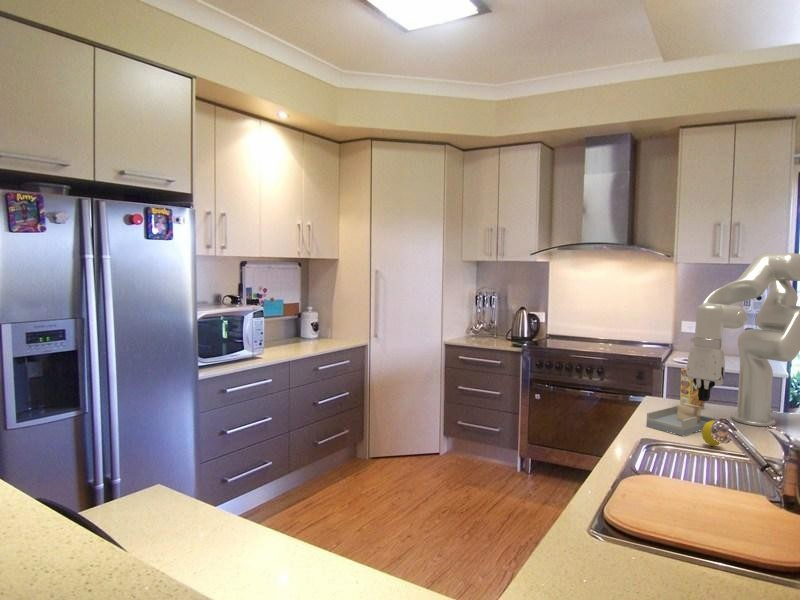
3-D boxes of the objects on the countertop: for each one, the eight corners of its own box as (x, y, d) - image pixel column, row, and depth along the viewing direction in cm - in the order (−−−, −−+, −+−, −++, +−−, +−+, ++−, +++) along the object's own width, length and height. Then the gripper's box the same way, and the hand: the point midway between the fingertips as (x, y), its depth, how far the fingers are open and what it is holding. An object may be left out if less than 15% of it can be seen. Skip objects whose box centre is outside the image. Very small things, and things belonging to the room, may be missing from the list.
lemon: (727, 450, 159) (728, 423, 158) (707, 450, 159) (709, 422, 158) (716, 444, 164) (717, 417, 164) (697, 443, 164) (698, 417, 164)
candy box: (689, 411, 200) (691, 369, 198) (678, 408, 203) (680, 367, 202) (704, 408, 204) (706, 367, 203) (693, 405, 207) (696, 365, 206)
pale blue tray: (682, 416, 193) (683, 402, 193) (718, 425, 183) (719, 410, 183) (646, 426, 181) (647, 411, 181) (682, 436, 171) (683, 420, 170)
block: (685, 417, 184) (685, 403, 184) (700, 421, 180) (700, 406, 180) (677, 420, 182) (677, 405, 181) (692, 423, 177) (692, 408, 177)
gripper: (678, 341, 179) (674, 396, 180) (726, 347, 167) (721, 407, 168) (690, 340, 183) (686, 394, 184) (738, 346, 171) (733, 404, 172)
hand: (703, 400), depth 176 cm, fingers closed
